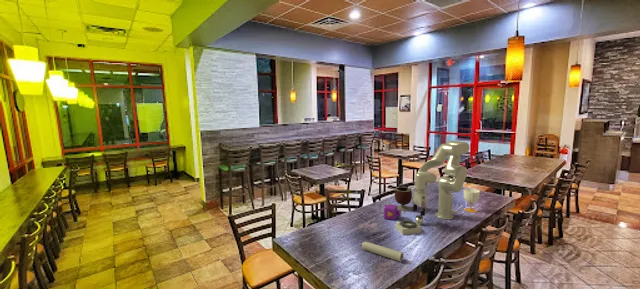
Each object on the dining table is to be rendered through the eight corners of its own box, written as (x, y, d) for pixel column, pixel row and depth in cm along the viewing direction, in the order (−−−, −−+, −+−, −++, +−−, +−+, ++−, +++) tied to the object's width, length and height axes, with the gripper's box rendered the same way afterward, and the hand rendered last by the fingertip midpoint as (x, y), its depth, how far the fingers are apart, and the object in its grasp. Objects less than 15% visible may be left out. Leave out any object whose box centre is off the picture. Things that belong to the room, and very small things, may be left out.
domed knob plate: (413, 226, 198) (413, 219, 197) (421, 232, 188) (421, 225, 188) (395, 228, 195) (395, 221, 195) (402, 235, 185) (402, 227, 185)
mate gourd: (394, 210, 228) (394, 187, 225) (394, 205, 241) (395, 182, 238) (413, 212, 224) (414, 188, 221) (413, 206, 237) (413, 184, 234)
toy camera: (402, 221, 208) (402, 208, 206) (383, 220, 210) (384, 207, 209) (401, 215, 218) (401, 203, 217) (383, 214, 221) (383, 202, 219)
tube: (359, 244, 167) (399, 257, 151) (363, 238, 170) (402, 250, 155) (361, 251, 169) (400, 264, 153) (365, 245, 172) (403, 257, 157)
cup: (463, 212, 222) (464, 191, 220) (461, 207, 233) (462, 187, 231) (479, 214, 218) (481, 193, 215) (477, 208, 229) (478, 189, 226)
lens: (420, 222, 204) (420, 215, 203) (424, 225, 199) (424, 217, 199) (414, 223, 203) (414, 215, 202) (418, 226, 198) (418, 218, 198)
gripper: (431, 193, 190) (430, 217, 192) (418, 186, 207) (416, 208, 209) (422, 194, 188) (420, 218, 190) (408, 187, 205) (407, 209, 207)
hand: (418, 213), depth 200 cm, fingers open, 9 cm apart
